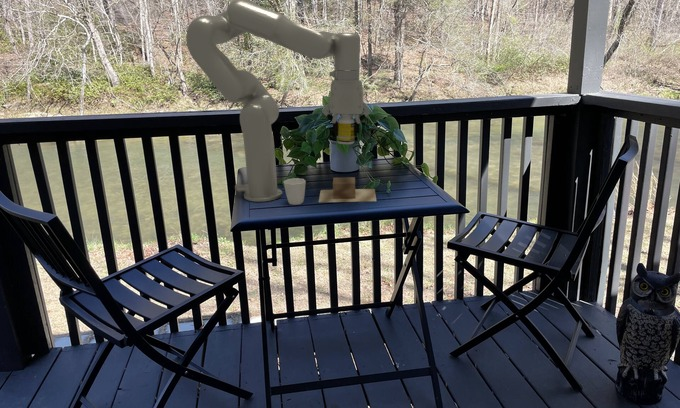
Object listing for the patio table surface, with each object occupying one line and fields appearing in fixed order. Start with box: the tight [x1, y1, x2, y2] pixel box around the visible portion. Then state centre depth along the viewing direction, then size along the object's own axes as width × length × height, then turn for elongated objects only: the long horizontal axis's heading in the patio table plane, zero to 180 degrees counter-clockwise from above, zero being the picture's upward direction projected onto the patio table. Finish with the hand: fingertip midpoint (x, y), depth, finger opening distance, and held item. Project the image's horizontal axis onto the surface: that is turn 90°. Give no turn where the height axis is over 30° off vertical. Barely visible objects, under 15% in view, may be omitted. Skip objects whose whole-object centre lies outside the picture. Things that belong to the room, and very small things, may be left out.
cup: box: [283, 177, 307, 206], centre depth 164 cm, size 7×10×8 cm
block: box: [332, 176, 356, 199], centre depth 169 cm, size 7×7×5 cm
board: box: [318, 188, 377, 203], centre depth 170 cm, size 18×13×1 cm
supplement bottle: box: [336, 115, 356, 145], centre depth 163 cm, size 5×5×10 cm
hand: (345, 134), depth 164 cm, fingers closed on supplement bottle, 5 cm apart
